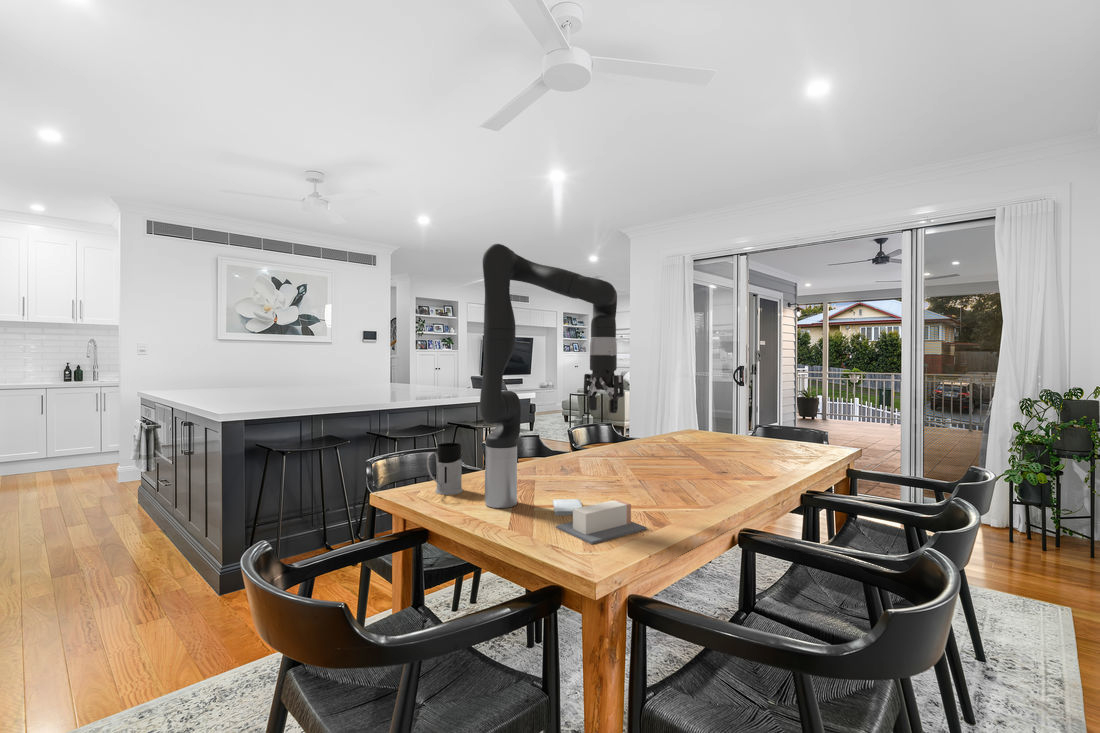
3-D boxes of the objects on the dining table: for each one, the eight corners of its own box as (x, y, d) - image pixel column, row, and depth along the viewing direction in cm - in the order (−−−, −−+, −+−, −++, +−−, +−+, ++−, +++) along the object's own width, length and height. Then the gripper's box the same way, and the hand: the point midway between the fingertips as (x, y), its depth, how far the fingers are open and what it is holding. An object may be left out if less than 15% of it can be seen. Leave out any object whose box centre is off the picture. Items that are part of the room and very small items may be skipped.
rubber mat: (556, 527, 129) (556, 525, 129) (609, 515, 140) (609, 513, 140) (591, 544, 118) (591, 541, 118) (646, 529, 128) (646, 527, 128)
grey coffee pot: (468, 490, 166) (468, 444, 166) (438, 500, 154) (438, 450, 153) (447, 486, 170) (448, 441, 170) (417, 496, 158) (417, 448, 158)
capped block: (573, 508, 127) (617, 499, 135) (572, 528, 127) (617, 518, 135) (585, 513, 123) (631, 503, 131) (585, 534, 123) (630, 523, 131)
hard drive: (584, 511, 140) (579, 498, 152) (555, 511, 140) (552, 498, 152) (584, 517, 140) (579, 504, 152) (555, 517, 140) (552, 504, 152)
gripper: (576, 353, 147) (576, 410, 147) (610, 353, 135) (610, 414, 135) (596, 354, 151) (596, 408, 151) (630, 353, 139) (630, 413, 140)
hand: (602, 411), depth 143 cm, fingers open, 8 cm apart
